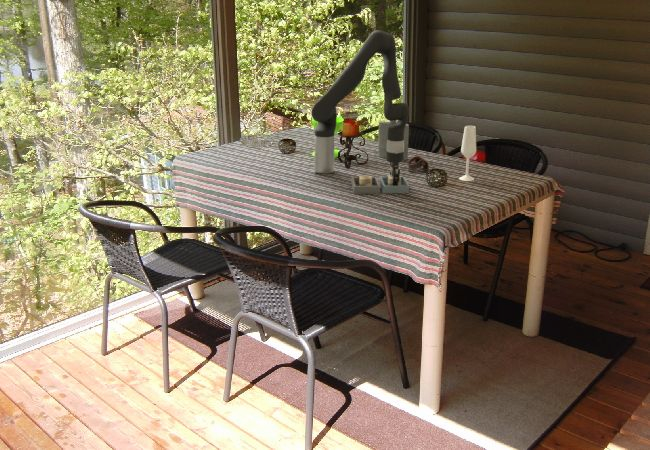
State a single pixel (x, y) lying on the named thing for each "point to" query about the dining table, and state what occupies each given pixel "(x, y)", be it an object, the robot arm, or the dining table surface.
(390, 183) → the letter cube
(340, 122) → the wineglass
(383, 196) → the dining table surface
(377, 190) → the charcoal bin
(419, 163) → the pottery mug
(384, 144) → the hip flask
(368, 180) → the blank cube
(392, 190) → the slate bin
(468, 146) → the champagne flute
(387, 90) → the robot arm
